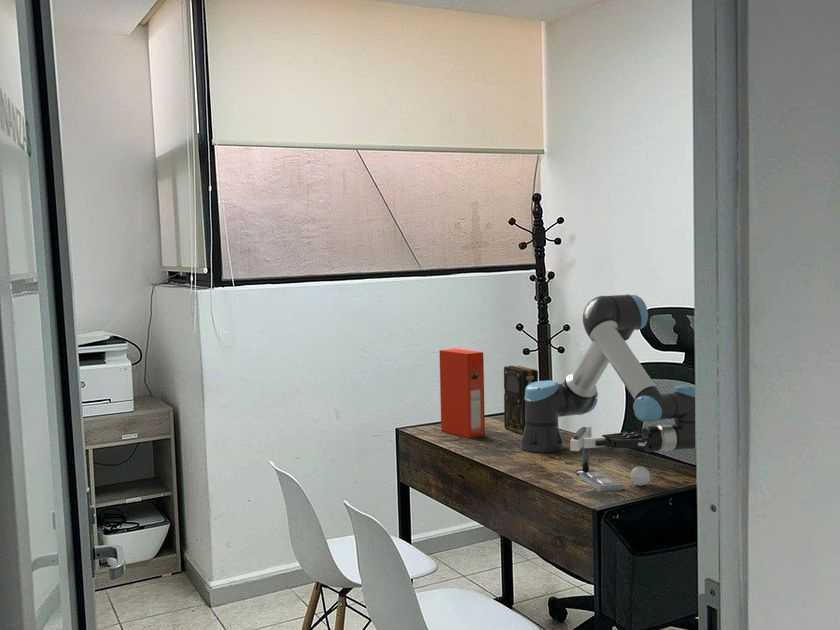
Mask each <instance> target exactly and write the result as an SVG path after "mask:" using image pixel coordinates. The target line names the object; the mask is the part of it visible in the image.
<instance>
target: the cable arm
mask: <svg viewBox="0 0 840 630" xmlns="http://www.w3.org/2000/svg"><path fill="white" fill-rule="evenodd" d="M590 437H592V426H589V425H588V426H587V425H584V426H583V425H581V426H579V429H578V430H577V431H576V432H575V433H574V434H573V435H572V438H571V439H570V442H569V445H570V449H569V451H570V452H579V451H580V450H582V446H583V438H590Z"/></svg>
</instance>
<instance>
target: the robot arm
mask: <svg viewBox="0 0 840 630" xmlns="http://www.w3.org/2000/svg"><path fill="white" fill-rule="evenodd" d="M648 318H649V312H648V307H647V305H646V303H645V301H644V299H643V298H642V297H640V296H639V295H637V294H629V293H627V294H618V295H616V294H614V295H599V296H596V297H594V298H592V299H591V300H589V302H587V303H586V305H585V307H584V310H583V314H582V323H583V324H582V325H583V329H584V331H585V333H586V334H587V336H588V338H589V340H591V342H590V344H589V346H588V348H587V349H586V351H585V353H584V355H583V356H582V358H581V360H580V362H579V364H578V365H577V367H576V369H575V370H574V372H571V373H569V374H567V376H566V377H565V379H564V380H563V382H562V383H558V382H557V381H556V380H550V379H549V380H538V382H534V383H531V384H529V385H528V386H527V387H526V389H525V429H524V432H523V435H522V434H521V438H520V449H521V450H522V451H523V450H524V451H526V452H533V453H555V452H559V451H563V450H564V439H563V437H562V434H561V431H560V427H559V418H560V417H569V416H570V417H571V416H582V415H585V414H588V413H591V412H593V410H594V409H595V407H596V406H597V403H598V397H599V396H598V395H599V394H598V389H597V383H598V381H599V380H600V379H601V377H602V375H603V373H604V372H605V369H607V367H608V365H609V363H610V365H611V366H612V368H613V370H614V371H615V372H616V373H617V375H618V377H619V379H620V380H621V381H622V383H623V385H625V387H626V389H627V390H628V392H629V393H630V395H631V397H632V398H633V399H634V402H633V405H632V406H633V407H632V409H633V411H634V416H635V417H636V418H637V420H639V421H640V422H645V423H646V422H657V421H663V420H669V419H670V420H672V419H673V422H674V424H663V425H662V424H661V425H660V424H659V425H657V426H656V425H647V426H644V427H642V429H641V431H640V432H638V431H632V432H628V431H627V430H625V431H622V432H617V433H609V434H602V435H601V436H593V437H592V436H591V437H590V438H583V447H584V448H589V449H591V448H592V449H593V448H611V449H641V450H644V451H645V452H650V453H652V452H659V451H660V452H661V451H663V452H664V453H668V452H669V451H676V450H695V389H694V385H695V384H689V383H684V384H683V383H682V384H681V383H680V384H677V385H675V386H674V388H673V392H671V393H670V392H669V393H661V391H660V390H659V388H658V387H657V386H656V384H655V383H654V381H653V380H652V378H651V377H650V375H649V374H648V373H647V371H646V369H645V368H644V367H643V365H642V364H641V362H640V361H639V360H638V358H637V357H636V356H635V353H634V352H633V351H632V349H631V348H630V346H629V345H628V344H627V342H626V341H628V340H629V339H630V338H631V336H632V334H633V333H634V331H637V330H638V331H640V330H641V329H643V328H645V326H647V323H648V320H649V319H648Z"/></svg>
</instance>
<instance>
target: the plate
mask: <svg viewBox="0 0 840 630" xmlns="http://www.w3.org/2000/svg"><path fill="white" fill-rule="evenodd" d="M578 478H579V479H580V480H582V481H584V482H585V483H587V484H588V485H589V486H591V487H592V488H594V489H596V490H597V491H598V492H612V491H623V490H624V487H623V485H624V484H622V483H620V482H619V481H617V480H615V479H614V478H612V477H611V476H609V475H608V474H606V473H604V472H602V471H600V470H599V471H595V472H585V473H579V476H578Z"/></svg>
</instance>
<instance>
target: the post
mask: <svg viewBox="0 0 840 630" xmlns="http://www.w3.org/2000/svg"><path fill="white" fill-rule="evenodd" d="M581 450H582V451H581V453H582V455H581V458H582V460H581V464H582V466H581V467H582V468H578V469H576V470H575V475H576V476H578V477H579V473H585V472H596V470H595V469H592V468H590V448H584V447H583V446H582V448H581Z"/></svg>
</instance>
